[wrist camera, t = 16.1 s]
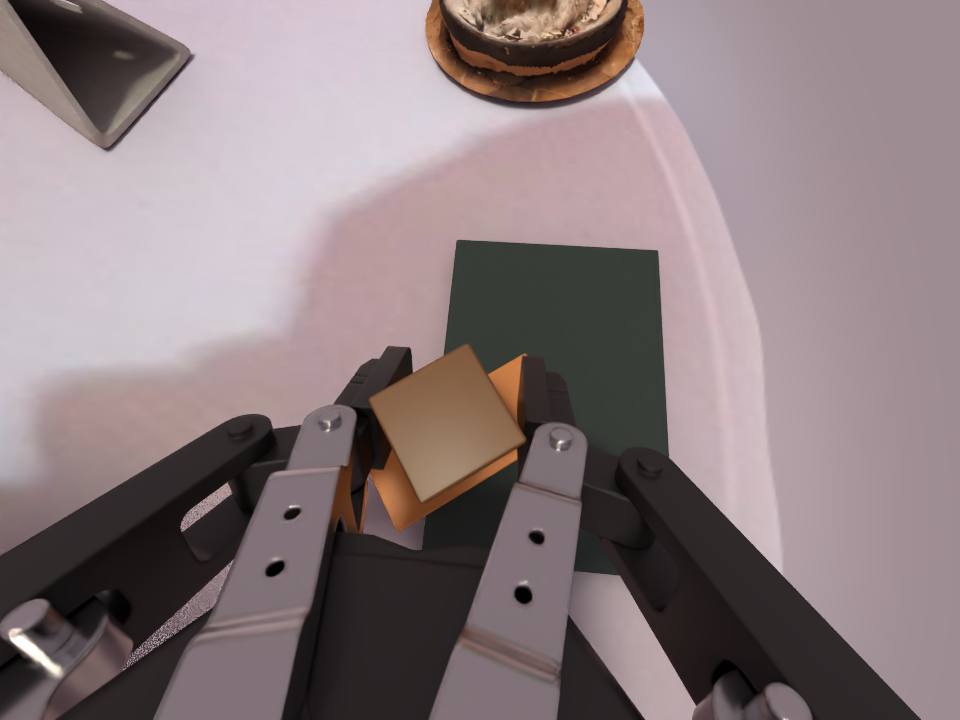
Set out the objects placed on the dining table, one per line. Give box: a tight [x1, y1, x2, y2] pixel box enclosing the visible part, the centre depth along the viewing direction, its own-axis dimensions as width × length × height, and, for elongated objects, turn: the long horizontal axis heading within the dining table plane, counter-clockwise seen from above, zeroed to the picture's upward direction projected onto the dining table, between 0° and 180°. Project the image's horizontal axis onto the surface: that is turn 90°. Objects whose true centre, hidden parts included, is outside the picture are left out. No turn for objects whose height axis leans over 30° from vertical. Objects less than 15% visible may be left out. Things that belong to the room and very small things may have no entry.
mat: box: [422, 240, 669, 575], centre depth 18 cm, size 16×11×1 cm
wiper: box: [369, 344, 527, 532], centre depth 13 cm, size 8×4×8 cm, turn 120°
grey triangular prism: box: [0, 0, 190, 148], centre depth 26 cm, size 10×8×22 cm
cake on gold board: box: [426, 0, 644, 102], centre depth 24 cm, size 15×15×4 cm
